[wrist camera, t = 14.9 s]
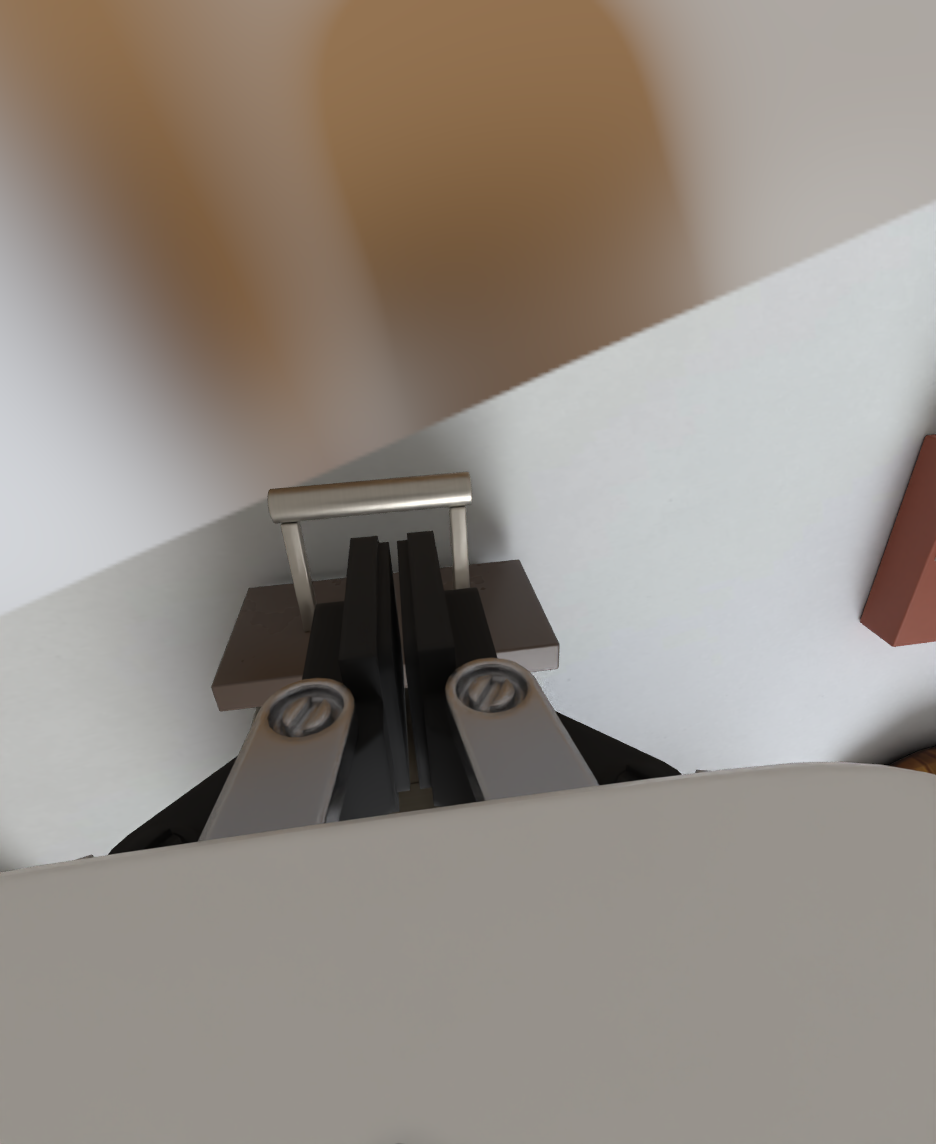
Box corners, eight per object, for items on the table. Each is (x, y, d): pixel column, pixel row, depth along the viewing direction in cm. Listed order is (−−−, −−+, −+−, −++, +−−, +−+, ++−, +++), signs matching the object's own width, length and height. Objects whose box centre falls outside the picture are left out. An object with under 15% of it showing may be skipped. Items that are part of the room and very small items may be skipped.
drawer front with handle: (214, 462, 23) (157, 534, 17) (519, 436, 24) (566, 495, 18) (303, 793, 32) (287, 913, 26) (519, 761, 33) (550, 870, 27)
